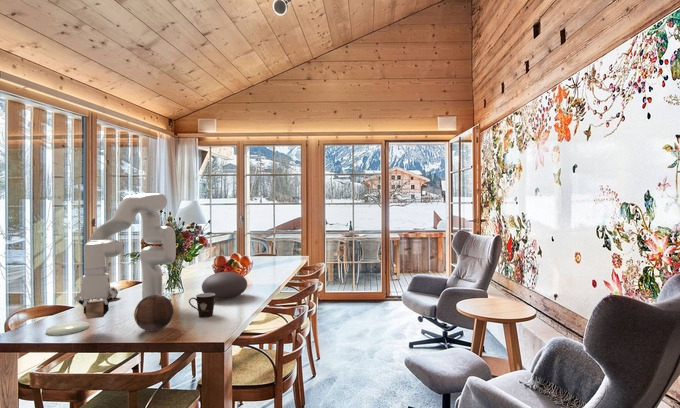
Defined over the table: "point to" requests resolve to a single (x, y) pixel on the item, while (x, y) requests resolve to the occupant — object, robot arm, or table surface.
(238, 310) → the table surface
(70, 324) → the sage plate
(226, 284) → the flattened ellipsoid
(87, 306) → the walnut cube
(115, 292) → the skull
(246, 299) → the table surface
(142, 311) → the wooden sphere
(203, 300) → the coffee mug
